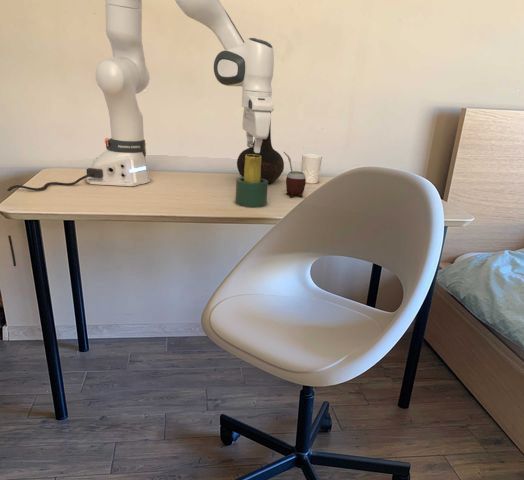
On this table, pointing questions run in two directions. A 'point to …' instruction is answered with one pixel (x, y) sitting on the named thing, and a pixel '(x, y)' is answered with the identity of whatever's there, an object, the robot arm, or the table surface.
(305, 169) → the white cup
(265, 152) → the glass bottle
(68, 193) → the table surface
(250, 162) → the vase
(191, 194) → the table surface
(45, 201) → the table surface
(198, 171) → the table surface
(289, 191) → the mate gourd
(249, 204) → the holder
